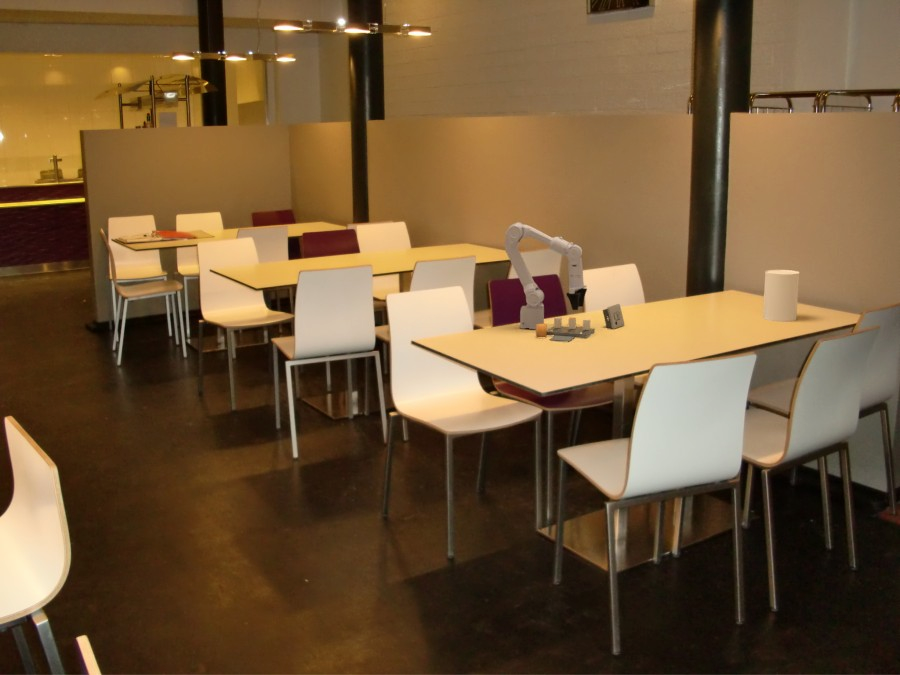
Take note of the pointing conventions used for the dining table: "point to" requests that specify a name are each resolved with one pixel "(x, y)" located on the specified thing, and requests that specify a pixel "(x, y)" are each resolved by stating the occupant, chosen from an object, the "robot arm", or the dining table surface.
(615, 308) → the electrical switch
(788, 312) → the canister
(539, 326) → the cap
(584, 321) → the block
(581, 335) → the panel
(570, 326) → the block
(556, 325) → the block
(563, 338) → the mat
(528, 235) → the robot arm
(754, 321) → the dining table surface
